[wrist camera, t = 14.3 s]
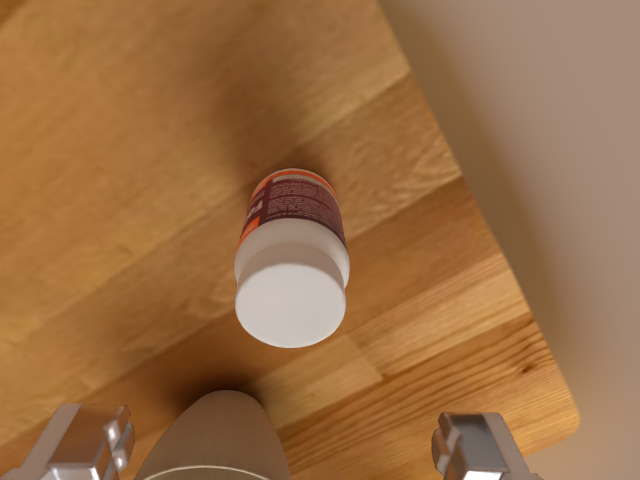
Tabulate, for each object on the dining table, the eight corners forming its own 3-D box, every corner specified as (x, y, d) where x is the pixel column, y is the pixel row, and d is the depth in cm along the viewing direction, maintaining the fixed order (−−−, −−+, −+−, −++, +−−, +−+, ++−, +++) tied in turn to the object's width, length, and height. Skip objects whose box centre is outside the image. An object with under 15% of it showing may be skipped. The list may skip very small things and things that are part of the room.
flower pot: (291, 453, 32) (288, 557, 26) (165, 449, 32) (132, 556, 25) (302, 367, 28) (302, 470, 21) (154, 359, 27) (109, 465, 20)
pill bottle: (248, 164, 20) (218, 250, 13) (342, 168, 20) (363, 254, 13) (251, 244, 22) (226, 355, 15) (334, 247, 23) (349, 357, 16)
